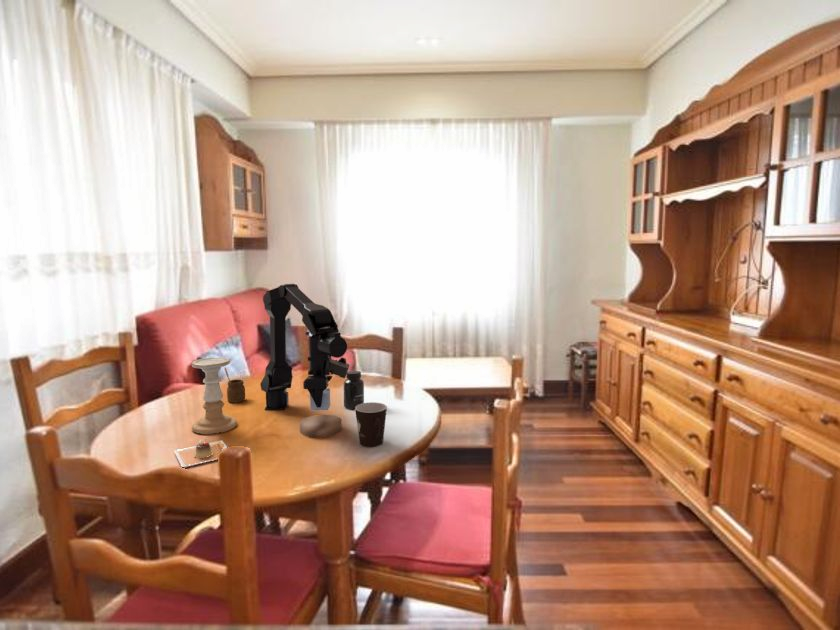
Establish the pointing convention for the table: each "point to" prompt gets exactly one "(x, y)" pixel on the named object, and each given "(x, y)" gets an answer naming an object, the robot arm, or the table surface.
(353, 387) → the supplement bottle
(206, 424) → the candle holder
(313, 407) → the blue cube
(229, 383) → the utensil holder
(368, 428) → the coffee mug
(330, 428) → the brown disc
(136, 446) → the table surface
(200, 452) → the dessert
